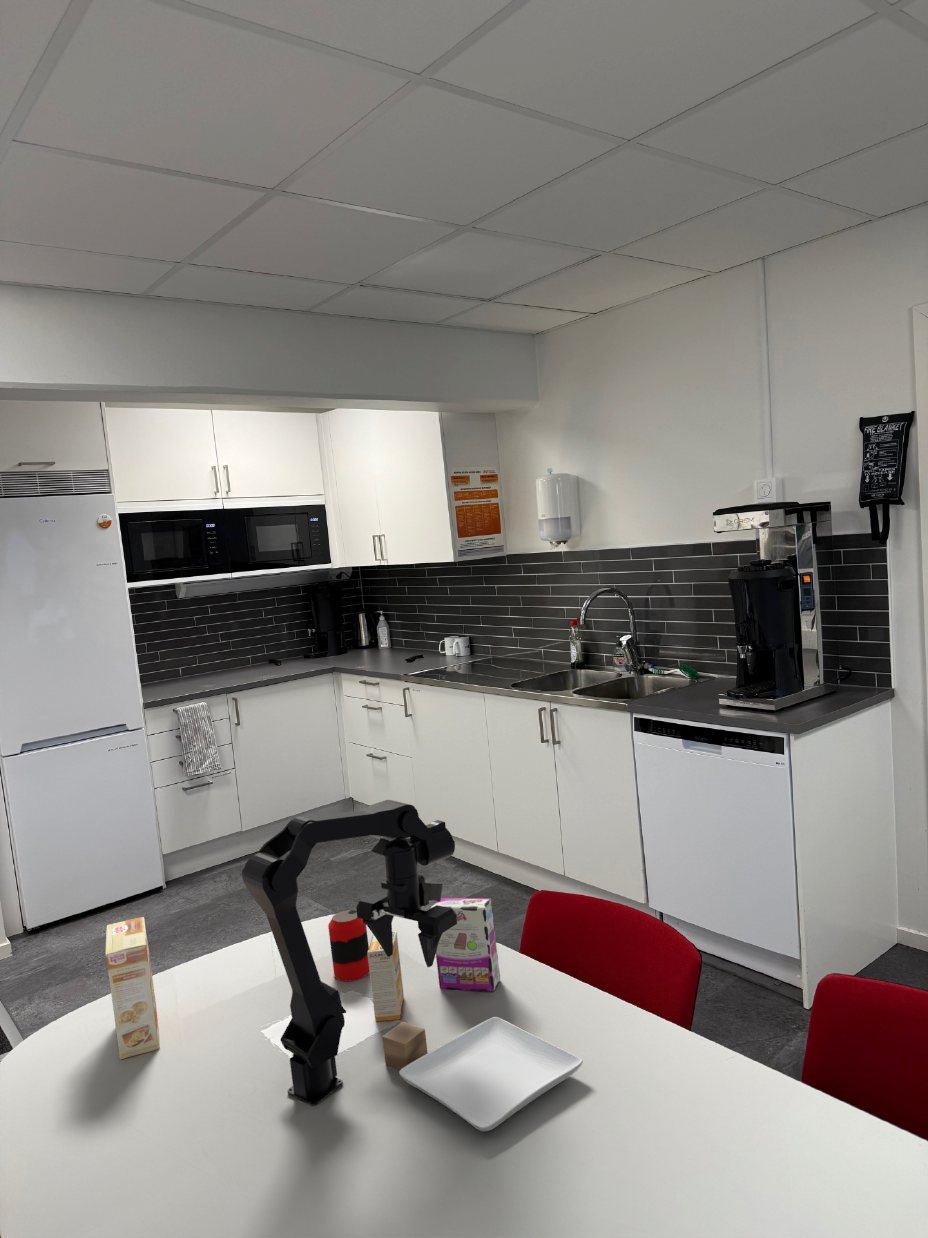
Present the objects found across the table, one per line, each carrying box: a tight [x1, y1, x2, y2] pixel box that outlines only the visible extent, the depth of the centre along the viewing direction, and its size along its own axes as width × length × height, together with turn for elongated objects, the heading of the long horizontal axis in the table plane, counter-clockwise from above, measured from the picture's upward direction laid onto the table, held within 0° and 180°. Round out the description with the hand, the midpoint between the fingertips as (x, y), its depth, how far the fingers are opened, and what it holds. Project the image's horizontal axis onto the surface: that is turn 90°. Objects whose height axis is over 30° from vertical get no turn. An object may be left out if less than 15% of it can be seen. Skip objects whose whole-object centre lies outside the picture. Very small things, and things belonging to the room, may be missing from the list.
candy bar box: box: [429, 897, 501, 992], centre depth 166 cm, size 11×5×16 cm, turn 73°
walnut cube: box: [381, 1021, 429, 1071], centre depth 143 cm, size 5×5×5 cm
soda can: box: [327, 909, 370, 982], centre depth 176 cm, size 8×8×12 cm
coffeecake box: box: [105, 916, 161, 1061], centre depth 160 cm, size 15×7×20 cm, turn 22°
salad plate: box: [398, 1016, 584, 1132], centre depth 134 cm, size 21×21×3 cm
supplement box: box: [367, 931, 404, 1022], centre depth 160 cm, size 8×5×13 cm, turn 179°
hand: (409, 961), depth 151 cm, fingers open, 9 cm apart
